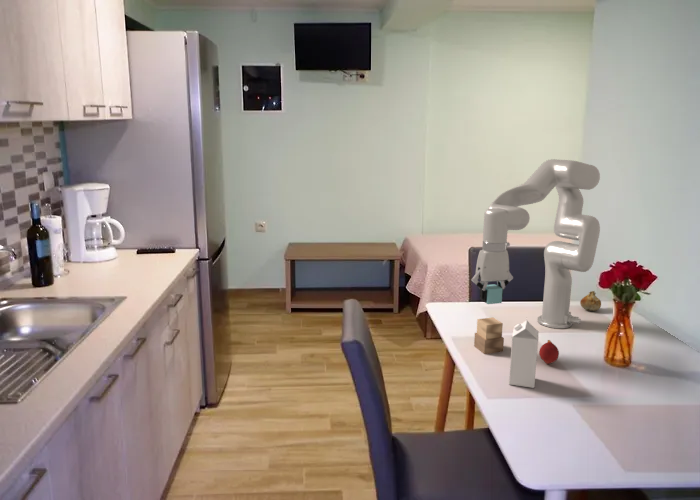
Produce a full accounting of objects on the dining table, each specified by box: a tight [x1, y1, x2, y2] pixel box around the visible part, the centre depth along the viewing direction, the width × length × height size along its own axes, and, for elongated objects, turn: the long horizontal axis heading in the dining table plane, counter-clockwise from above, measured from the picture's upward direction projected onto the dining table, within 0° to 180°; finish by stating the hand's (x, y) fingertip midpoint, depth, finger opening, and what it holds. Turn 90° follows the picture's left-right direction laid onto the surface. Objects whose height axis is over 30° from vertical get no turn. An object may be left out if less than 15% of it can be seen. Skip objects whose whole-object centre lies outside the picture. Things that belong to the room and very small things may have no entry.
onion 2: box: [579, 290, 602, 312], centre depth 227 cm, size 8×8×8 cm
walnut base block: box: [473, 332, 505, 355], centre depth 189 cm, size 7×7×5 cm
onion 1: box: [538, 339, 560, 365], centre depth 177 cm, size 6×6×8 cm
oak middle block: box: [476, 317, 504, 339], centre depth 188 cm, size 6×6×5 cm
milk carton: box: [508, 317, 540, 389], centre depth 164 cm, size 7×7×19 cm
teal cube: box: [484, 283, 504, 305], centre depth 186 cm, size 5×5×5 cm
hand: (491, 299), depth 186 cm, fingers closed on teal cube, 4 cm apart
